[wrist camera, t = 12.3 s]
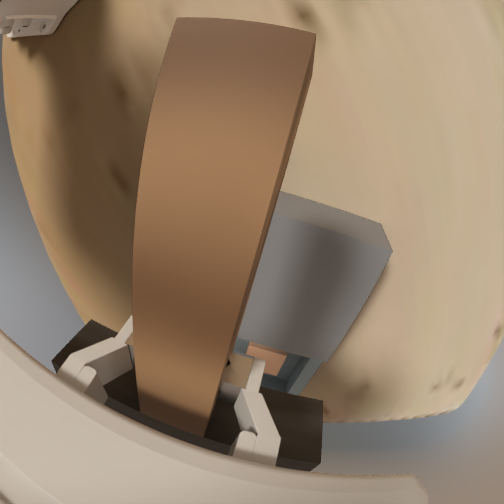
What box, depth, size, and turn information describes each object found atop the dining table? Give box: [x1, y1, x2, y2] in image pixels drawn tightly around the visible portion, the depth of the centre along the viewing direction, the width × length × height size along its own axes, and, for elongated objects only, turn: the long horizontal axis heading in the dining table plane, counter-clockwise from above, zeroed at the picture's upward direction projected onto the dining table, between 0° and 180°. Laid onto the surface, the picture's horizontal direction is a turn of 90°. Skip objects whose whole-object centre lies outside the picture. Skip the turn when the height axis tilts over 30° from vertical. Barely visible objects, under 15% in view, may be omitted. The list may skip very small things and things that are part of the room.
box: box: [233, 337, 323, 395], centre depth 33 cm, size 20×13×4 cm, turn 78°
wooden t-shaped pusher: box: [52, 17, 323, 471], centre depth 9 cm, size 16×14×4 cm
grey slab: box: [237, 191, 393, 362], centre depth 26 cm, size 20×14×5 cm
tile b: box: [246, 341, 288, 376], centre depth 32 cm, size 4×4×2 cm
